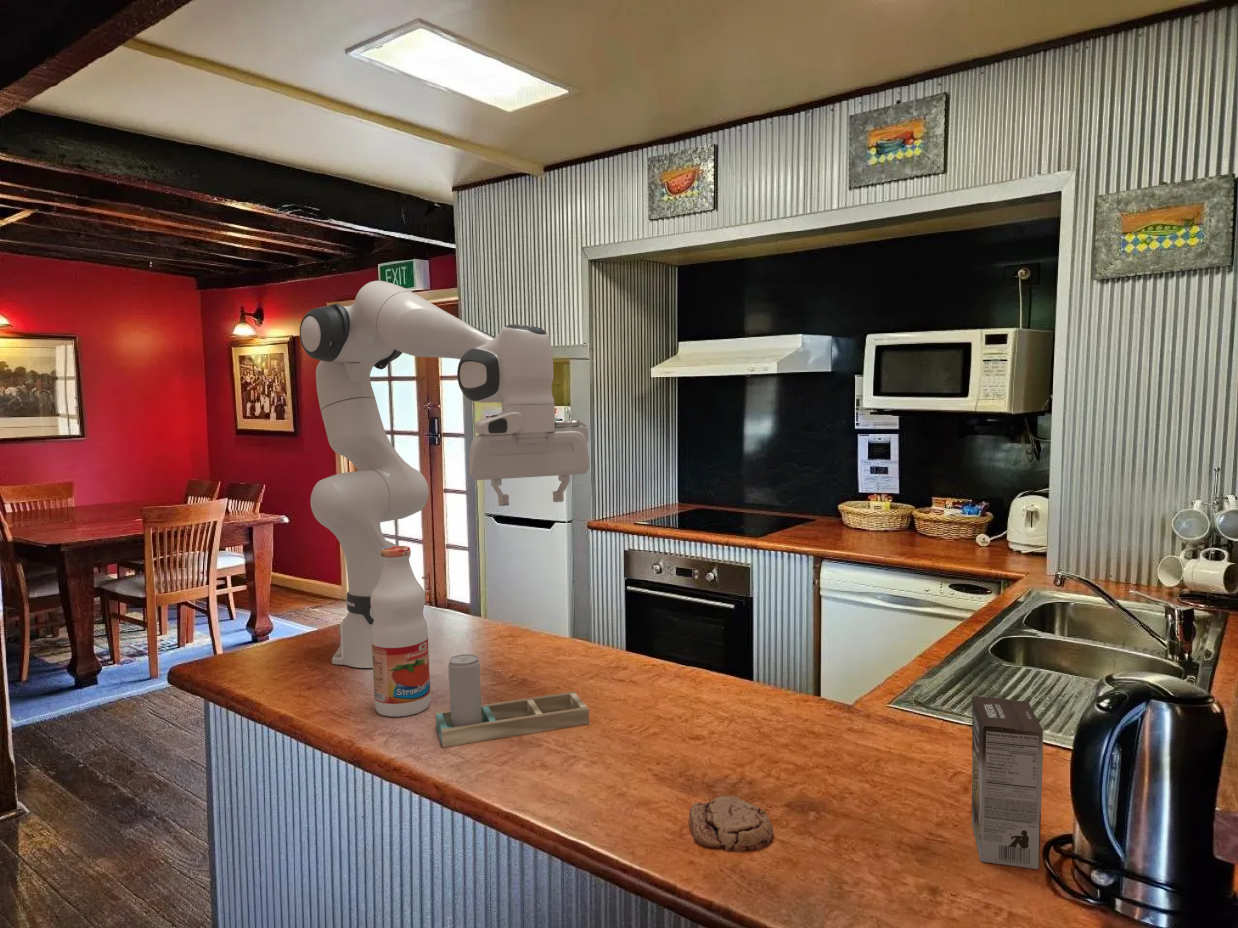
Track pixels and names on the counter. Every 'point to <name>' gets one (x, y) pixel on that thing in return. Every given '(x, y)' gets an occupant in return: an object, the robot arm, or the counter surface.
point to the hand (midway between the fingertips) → (531, 503)
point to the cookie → (730, 824)
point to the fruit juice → (399, 638)
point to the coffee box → (1006, 781)
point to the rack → (515, 719)
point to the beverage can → (465, 690)
